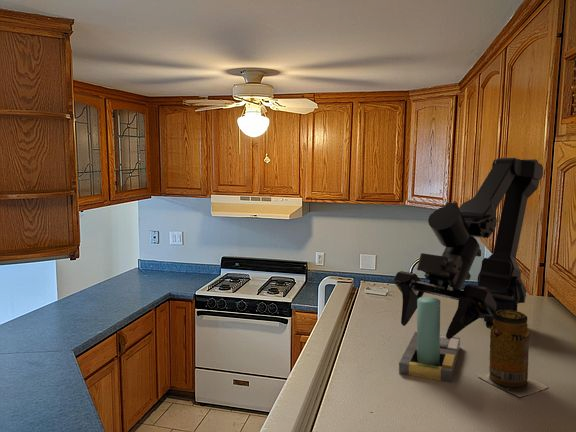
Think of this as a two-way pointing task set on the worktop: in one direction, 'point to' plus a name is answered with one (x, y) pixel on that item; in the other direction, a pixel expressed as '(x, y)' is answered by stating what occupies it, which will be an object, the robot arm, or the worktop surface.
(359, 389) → the worktop surface
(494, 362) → the condiment
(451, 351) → the socket plate
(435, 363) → the plug
